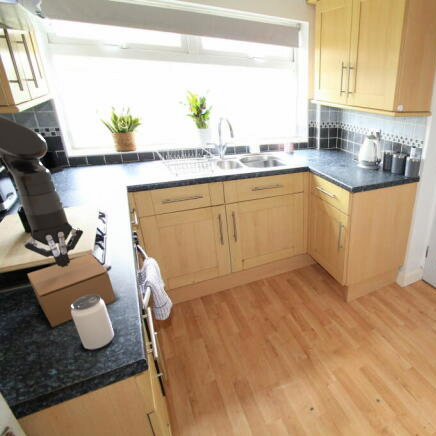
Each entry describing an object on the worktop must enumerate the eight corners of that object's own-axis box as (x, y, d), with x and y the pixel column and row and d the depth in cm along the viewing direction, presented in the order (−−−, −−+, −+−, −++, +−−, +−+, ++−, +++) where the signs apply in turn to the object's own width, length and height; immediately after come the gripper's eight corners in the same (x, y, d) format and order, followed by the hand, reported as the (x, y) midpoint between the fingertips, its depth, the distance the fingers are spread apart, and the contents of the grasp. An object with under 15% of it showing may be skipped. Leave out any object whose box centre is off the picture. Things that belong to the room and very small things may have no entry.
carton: (52, 327, 83) (38, 295, 79) (39, 303, 91) (26, 273, 87) (116, 300, 94) (107, 270, 89) (99, 281, 102) (91, 253, 98)
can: (119, 338, 80) (107, 299, 76) (90, 354, 75) (76, 314, 71) (107, 327, 84) (95, 290, 79) (78, 342, 79) (64, 303, 74)
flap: (33, 285, 83) (32, 284, 83) (27, 274, 87) (27, 273, 87) (99, 263, 94) (98, 262, 94) (91, 254, 98) (90, 253, 97)
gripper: (71, 198, 89) (87, 252, 96) (6, 211, 79) (30, 270, 86) (79, 205, 84) (96, 261, 91) (12, 219, 75) (36, 281, 82)
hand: (64, 265), depth 89 cm, fingers closed
